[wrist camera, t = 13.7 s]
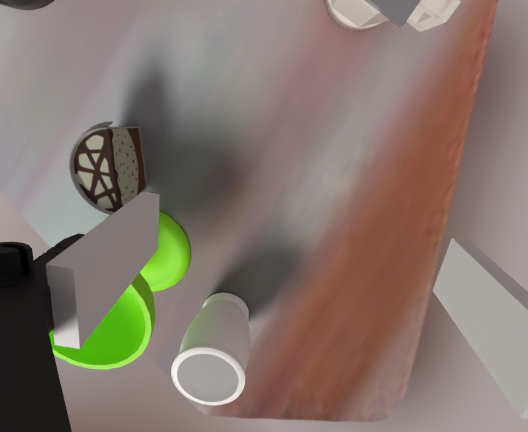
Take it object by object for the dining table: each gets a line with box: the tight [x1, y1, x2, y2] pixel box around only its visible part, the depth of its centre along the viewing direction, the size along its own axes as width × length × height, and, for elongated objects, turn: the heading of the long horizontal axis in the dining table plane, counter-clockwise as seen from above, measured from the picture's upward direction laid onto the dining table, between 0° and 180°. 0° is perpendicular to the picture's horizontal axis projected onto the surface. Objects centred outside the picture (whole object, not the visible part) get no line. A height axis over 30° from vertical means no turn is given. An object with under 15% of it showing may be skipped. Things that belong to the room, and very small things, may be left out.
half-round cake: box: [69, 121, 148, 215], centre depth 48 cm, size 12×6×10 cm, turn 0°
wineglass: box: [49, 211, 191, 369], centre depth 50 cm, size 16×16×18 cm
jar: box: [171, 293, 250, 405], centre depth 55 cm, size 11×10×15 cm
